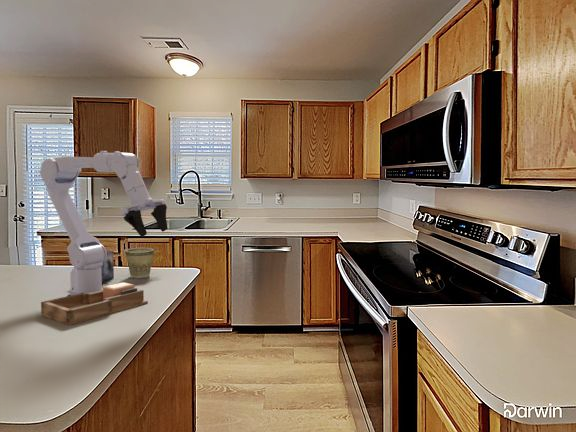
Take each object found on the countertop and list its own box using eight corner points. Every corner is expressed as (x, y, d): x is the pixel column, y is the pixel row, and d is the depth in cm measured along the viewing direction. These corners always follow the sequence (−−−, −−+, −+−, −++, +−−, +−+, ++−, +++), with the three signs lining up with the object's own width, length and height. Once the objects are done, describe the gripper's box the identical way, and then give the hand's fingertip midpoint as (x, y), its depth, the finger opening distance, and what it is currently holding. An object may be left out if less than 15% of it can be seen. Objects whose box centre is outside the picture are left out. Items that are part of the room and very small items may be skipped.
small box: (97, 285, 151) (96, 255, 150) (80, 284, 152) (79, 254, 151) (115, 278, 161) (114, 250, 160) (99, 277, 162) (98, 249, 161)
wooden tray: (41, 315, 119) (40, 299, 118) (119, 295, 138) (119, 282, 138) (69, 325, 111) (68, 308, 111) (147, 303, 131) (147, 288, 131)
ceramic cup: (128, 280, 158) (127, 253, 157) (123, 275, 167) (123, 248, 166) (165, 277, 165) (164, 250, 164) (158, 271, 173) (158, 246, 172)
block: (103, 302, 129) (102, 286, 129) (123, 296, 135) (123, 281, 134) (113, 305, 126) (113, 288, 126) (134, 299, 132) (134, 284, 132)
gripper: (122, 187, 121) (141, 232, 120) (163, 181, 133) (181, 222, 132) (109, 198, 125) (128, 242, 124) (150, 191, 137) (167, 231, 136)
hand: (154, 232), depth 128 cm, fingers open, 7 cm apart
